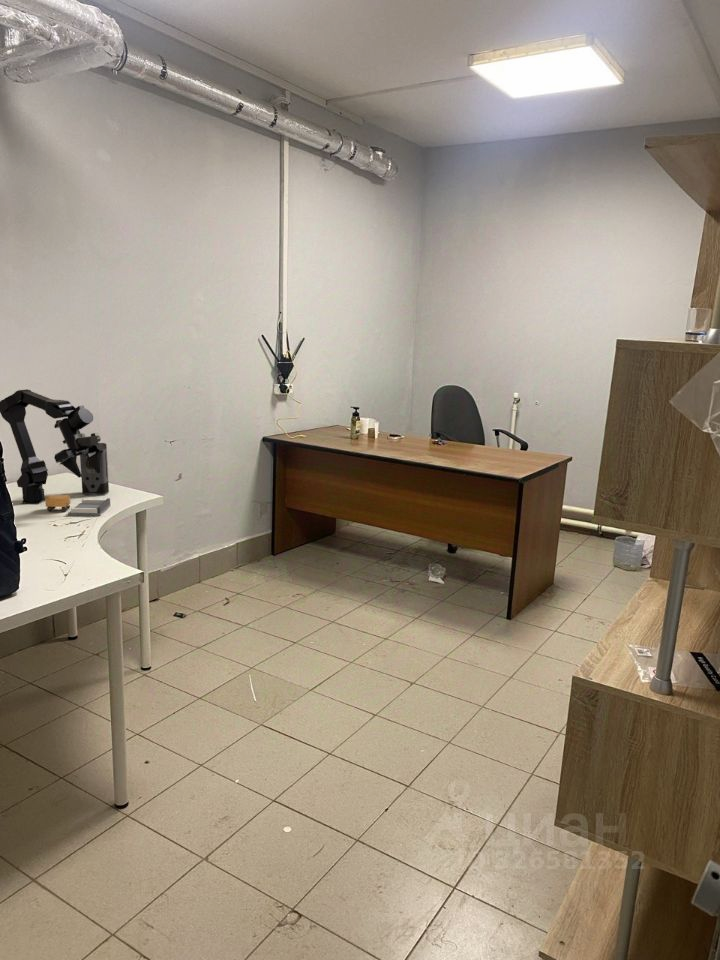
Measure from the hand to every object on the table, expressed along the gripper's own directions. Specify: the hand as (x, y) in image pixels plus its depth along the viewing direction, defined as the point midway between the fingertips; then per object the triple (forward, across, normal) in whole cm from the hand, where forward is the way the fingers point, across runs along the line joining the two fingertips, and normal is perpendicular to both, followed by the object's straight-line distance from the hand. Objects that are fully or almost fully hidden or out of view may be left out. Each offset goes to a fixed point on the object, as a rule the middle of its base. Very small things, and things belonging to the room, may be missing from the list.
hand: (89, 475), depth 242 cm
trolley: (+6, -2, +19) cm, 20 cm away
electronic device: (+3, +23, +23) cm, 32 cm away
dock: (+11, +3, +10) cm, 15 cm away
